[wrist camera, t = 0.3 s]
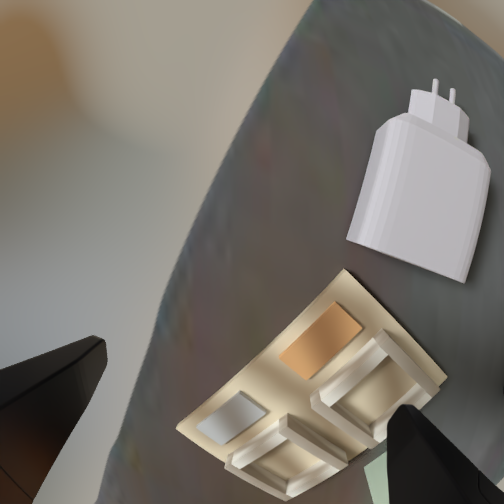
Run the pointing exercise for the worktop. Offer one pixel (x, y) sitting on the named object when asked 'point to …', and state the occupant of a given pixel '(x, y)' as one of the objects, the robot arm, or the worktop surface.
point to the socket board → (315, 393)
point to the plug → (378, 479)
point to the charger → (424, 188)
